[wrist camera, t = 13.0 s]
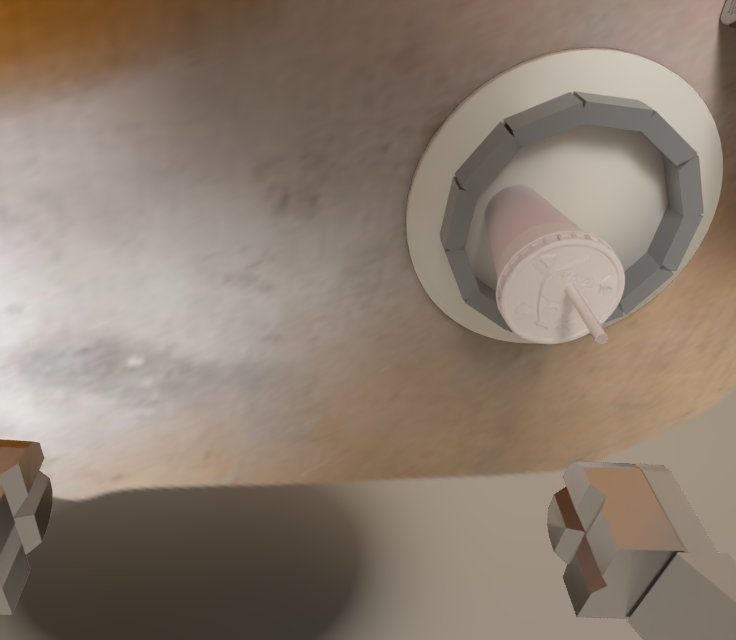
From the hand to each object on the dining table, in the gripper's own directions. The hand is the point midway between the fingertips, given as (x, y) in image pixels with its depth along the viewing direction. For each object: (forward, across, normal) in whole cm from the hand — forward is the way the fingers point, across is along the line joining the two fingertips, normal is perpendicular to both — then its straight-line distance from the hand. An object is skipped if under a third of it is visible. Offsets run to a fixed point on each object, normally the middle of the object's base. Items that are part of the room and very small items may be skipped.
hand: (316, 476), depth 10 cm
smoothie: (+28, -13, +8) cm, 32 cm away
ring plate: (+29, -16, +9) cm, 35 cm away
